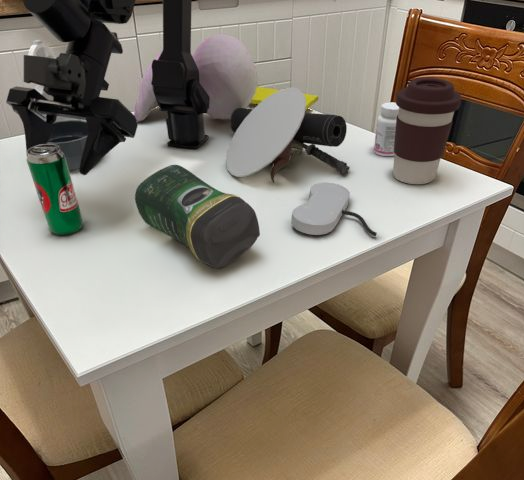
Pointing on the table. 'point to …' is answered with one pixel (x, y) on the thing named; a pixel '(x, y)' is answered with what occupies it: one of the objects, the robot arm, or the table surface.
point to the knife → (324, 157)
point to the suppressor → (307, 127)
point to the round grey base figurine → (267, 134)
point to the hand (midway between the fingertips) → (56, 169)
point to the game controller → (324, 210)
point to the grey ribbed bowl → (70, 140)
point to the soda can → (54, 188)
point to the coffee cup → (423, 128)
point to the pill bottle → (386, 129)
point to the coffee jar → (197, 215)
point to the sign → (266, 92)
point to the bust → (213, 78)
